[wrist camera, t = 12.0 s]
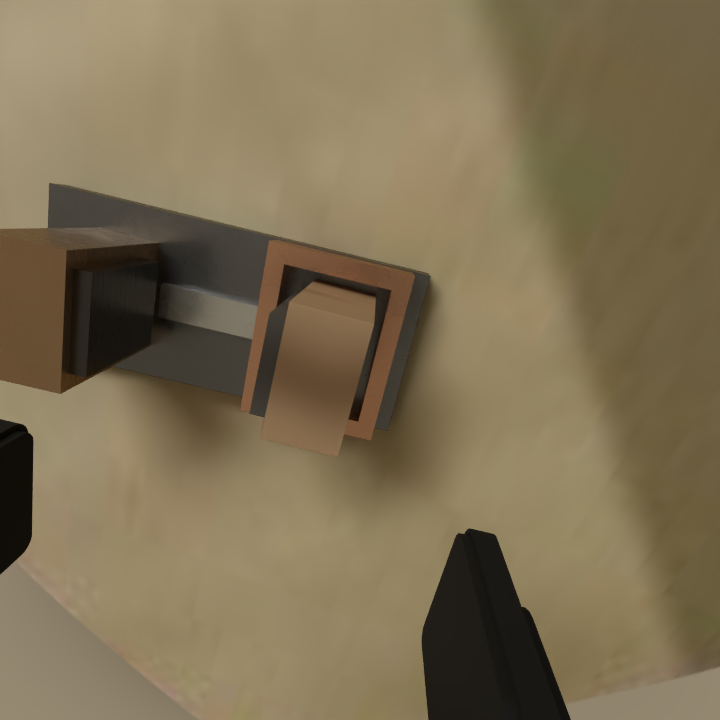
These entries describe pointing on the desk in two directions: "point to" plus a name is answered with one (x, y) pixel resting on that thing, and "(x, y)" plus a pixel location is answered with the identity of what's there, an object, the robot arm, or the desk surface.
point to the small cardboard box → (313, 365)
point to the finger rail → (179, 300)
